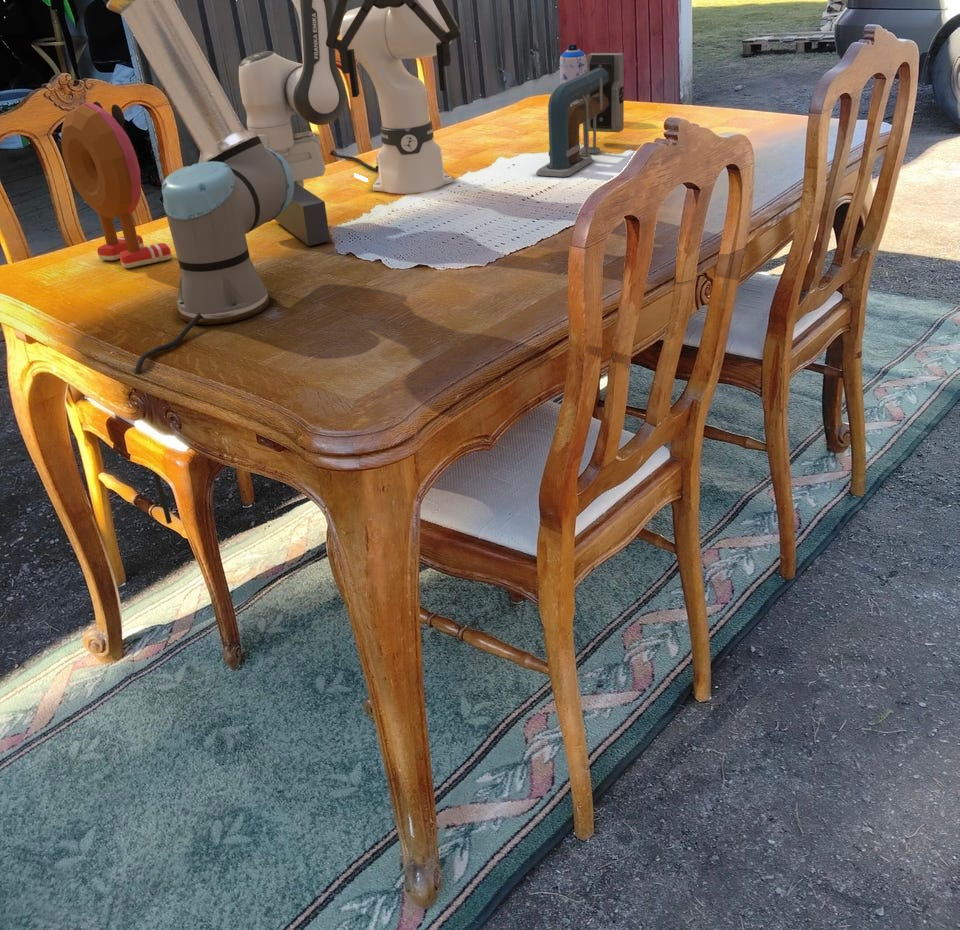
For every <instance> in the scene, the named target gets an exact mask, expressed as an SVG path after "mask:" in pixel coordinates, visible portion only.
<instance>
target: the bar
mask: <svg viewBox="0 0 960 930" xmlns="http://www.w3.org/2000/svg"><path fill="white" fill-rule="evenodd" d="M326 209H327V208H326V201H325V200H323V199H321V198H320V197H318V196H317V195H316V194H314V193H312V192H311V191H309V190H308V189H306V188H305V187H304V186H303V187H302V186H300V185H299V184H297V183H296V182H294V193H293V197H292V200H291V203H290V204H289V206H288V207H287V209H286V210H285V211H284V212H282V213H281V214H280V215H279V216H278V217H277V218H275V219H274V221H275V222H277V223H279V224H280V225H281V226H282V227H284V228H285V229H286V230H287V231H289V232H290V233H291V234H293V235H294V236H295V237H296V238H298V239H299V241H301V242H303V243H304V244H306V245H307V246H308V247H310V246H315V245H320V244H323V243H327V242H331V237H330V232H329V231H330V230H329V225H328V216H327V215H328V214H327V210H326Z"/></svg>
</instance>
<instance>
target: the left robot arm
mask: <svg viewBox="0 0 960 930" xmlns="http://www.w3.org/2000/svg"><path fill="white" fill-rule="evenodd" d="M102 1H103V3H104V4H105V6H106V8H107V9H108V10H109V11H112V12H113V13H117V14H119V15H121V16H122V17H123V19H124V20H125V22H126V24H127V26H128V28H129V30H130V32H131V33H132V34H133V36H134V38H135V40H136V42H137V44H138V45H139V47H140V49H141V50H142V52H143V54H144V56H145V58H146V60H147V61H148V63H149V64H150V66H151V68H152V70H153V72H154V73H155V75H156V77H157V79H158V80H159V82H160V84H161V86H162V87H163V89H164V91H165V93H166V94H167V97H168V98H169V100H170V102H171V103H172V105H173V107H174V108H175V110H176V112H177V114H178V116H179V117H180V119H181V120H182V122H183V124H184V126H185V128H186V130H187V132H188V133H189V135H190V137H191V138H192V140H193V142H194V144H195V145H196V147H197V149H198V151H199V159H198V162H197V163H193V164H191V165H190V166H189V165H187V166H183V167H180V168H178V169H176V170H174V171H173V172H171V173H170V174H168V175H167V176H166V177H165V178H164V180H163V182H162V185H161V193H162V200H163V204H162V205H163V210H164V213H165V214H166V219H167V223H168V226H169V230H170V231H169V232H170V235H171V238H172V242H173V247H174V250H175V254H176V258H177V262H178V266H179V283H178V294H177V303H176V305H177V310H178V314H179V318H180V319H182V320H183V321H184V322H186V323H188V324H187V325H186V326H185V327H184V328H183V329H182V330H181V332H180V333H179V334H178V335H176V336H175V337H174V339H172V340H171V341H169V342H167V343H165V344H162V345H159V346H156V347H153V348H152V349H149V350H148V351H145V352H144V353H142V354H140V356H139V357H138V359H137V362H136V365H135V370H134V374H135V375H139V374H141V373H142V368H143V365H144V362H145V360H146V359H148V358H150V357H152V356H154V355H156V354H158V353H160V352H163V351H166V350H168V349H171V348H173V347H175V346H176V345H177V344H179V343H180V341H181V340H182V339H183V338H184V337H186V335H187V334H188V333H189V332H190V330H192V328H193V327H194V326H195V325H202V326H203V325H204V326H205V325H206V326H210V325H222V324H230V323H233V322H239V321H241V320H245V319H248V318H251V317H253V316H256V315H258V314H260V312H263V311H264V310H265V309H266V308H267V307H268V306H269V305H270V296H269V291H268V288H267V287H266V284H265V283H264V282H263V280H262V278H261V276H260V274H259V272H258V270H257V269H256V267H255V265H254V264H253V262H252V260H251V257H250V251H249V246H248V241H247V236H246V234H249V233H250V232H252V231H254V230H256V229H257V228H259V227H261V226H262V225H265V224H267V223H271V222H272V221H273V220H275V218H277V217H278V216H279V215H280V214H281V213H282V212H284V211H285V210H286V209H287V207H288V206H289V204H290V203H291V200H292V197H293V193H294V179H293V175H292V172H291V169H290V167H289V165H288V163H287V162H286V160H285V159H284V158H283V157H282V156H281V155H280V154H279V153H275V152H274V151H273V150H271V149H268V148H265V147H264V145H263V144H262V142H261V140H260V138H259V136H258V135H257V134H255V133H253V132H250V131H248V129H247V128H245V127H244V126H243V124H242V121H240V118H239V116H238V114H237V113H236V110H234V107H233V106H232V104H231V102H230V100H229V98H228V96H227V94H226V93H225V90H224V89H223V87H222V85H221V83H220V81H219V80H218V77H217V76H216V75H215V73H214V71H213V69H212V67H211V65H210V64H209V62H208V60H207V58H206V56H205V54H204V52H203V51H202V49H201V47H200V45H199V43H198V41H197V40H196V38H195V36H194V34H193V32H192V30H191V29H190V27H189V24H188V23H187V21H186V20H185V18H184V16H183V14H182V12H181V11H180V8H179V7H178V5H177V3H176V1H175V0H102ZM433 2H434V4H435V5H436V7H437V9H438V11H439V13H440V14H441V16H442V18H443V20H444V21H445V23H446V25H447V27H448V29H449V30H450V31H448V32H446V31H445V30H444V29H443V28H442V27H441V26H440V25H439V24H438V23H437V21H436V20H435V19H434V18H433V17H432V16H431V15H430V14H429V13H428V12H427V11H426V9H425V8H424V7H423V6H422V5H421V4H420V3H419V2H418V0H364V1H363V3H362V4H361V6H360V7H361V8H360V10H359V12H358V13H357V15H356V17H355V18H354V20H353V22H352V23H351V25H350V27H349V28H348V30H347V32H346V33H345V35H344V37H343V38H342V40H341V39H339V36H340V28H341V25H342V22H343V19H344V15H345V14H346V12H347V9H348V6H349V3H350V0H338V1H337V4H336V6H335V11H334V12H333V20H332V23H331V26H330V30H329V33H328V36H327V40H326V46H327V47H329V48H334V49H335V50H337V51H338V53H339V61H340V66H341V71H342V74H347V75H349V83H350V90H351V97H352V98H358V96H359V95H360V94H361V93H360V86H359V79H358V71H357V64H356V63H357V62H356V59H355V55H354V49H348V46H349V45H350V43H351V42H352V40H353V38H354V37H355V35H356V33H357V32H358V30H359V28H360V27H361V25H362V23H363V22H364V20H365V18H366V17H367V15H368V14H369V12H370V10H371V9H372V7H373V6H375V7H377V8H379V9H384V8H387V7H393V8H398V7H401V6H403V5H404V4H406V5H407V6H408V7H409V8H410V9H411V10H412V11H413V12H414V13H415V14H416V15H417V16H418V17H419V18H420V19H421V21H422V22H423V23H424V24H425V25H426V26H427V27H428V28H429V29H430V30H431V31H432V32H433V34H434V35H435V36H436V37H437V38H438V39H439V40H440V41H441V42H438V43H437V44H436V49H437V55H436V59H437V70H438V71H437V72H438V81H439V91H440V92H443V91H444V92H445V91H446V89H447V81H446V80H447V79H446V70H445V67H449V66H451V62H452V53H451V44H450V41H451V40H452V41H454V40H455V39H458V38H459V37H460V35H461V33H462V31H461V28H460V26H459V24H458V22H457V21H456V19H455V17H454V15H453V14H452V11H451V10H450V8H449V6H448V5H447V3H446V1H445V0H433ZM452 41H451V42H452ZM152 476H153V479H154V483H155V486H156V490H157V492H158V497H159V500H160V503H161V506H162V507H161V508H162V511H163V514H164V518H165V522H166V524H167V525H169V524H171V523H173V520H172V517H171V512H170V508H169V506H168V502H167V498H166V494H165V490H164V488H163V486H162V481H161V478H160V475H159V474H154V475H152Z"/></svg>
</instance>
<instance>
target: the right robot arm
mask: <svg viewBox="0 0 960 930" xmlns="http://www.w3.org/2000/svg"><path fill="white" fill-rule="evenodd" d="M291 2H292V3H293V5H294V8H295V9H296V12H297V15H298V19H299V25H300V27H299V28H300V39H301V40H300V41H301V42H300V43H301V54H302V56H301V57H302V63H300V62H296V61H294V60H290V59H288V58H285V57H283V56H281V55H278V54H277V53H275V52H274V51H272V50H264V51H260V52H256V53H252V54H250V55H248V56H246V57H244V58H243V59H242V60H241V62H240V63H239V65H238V83H239V90H240V97H241V102H242V105H243V107H244V110H245V113H246V130H247V131H250V132H253V133H255V134H257V135H258V136H259V138H260V140H261V142H262V144H263V145H264V147H265V148H268V149H271V150H273V151H274V152H275V153H279V154H280V155H281V156H282V157H283V158H284V159H285V160H286V162H287V163H288V165H289V167H290V169H291V172H292V175H293V179H294V182H296V183H297V184H299V185H300V186H302V187H303V188H304V187H305V183H304V181H305V180H306V181H307V180H310V179H315V178H319V177H323V176H324V175H325V172H326V165H325V161H324V158H323V153H322V151H321V149H322V143H321V142H322V141H321V138H320V136H319V134H318V133H316V132H313V131H311V130H308V131H304V132H297V133H293V129H292V128H293V127H292V123H291V117H292V116H294V115H299V116H301V117H302V118H303V119H304V120H305V121H307V122H308V123H310V124H313V125H315V126H326V125H328V124H331V123H333V122H335V121H336V120H337V119H338V118H339V117H340V116H341V114H342V113H343V111H344V109H345V105H346V100H347V98H346V96H347V95H346V90H345V87H344V84H343V81H342V79H341V76H340V74H339V71H338V66H337V59H336V58H337V57H336V49H334V48H329V47H327V46H326V40H327V36H328V33H329V30H330V26H331V23H332V20H333V17H334V9H333V7H334V6H333V0H291ZM418 2H419V3H420V4H421V5H422V6H423V7H424V8H425V9H426V11H427V12H428V13H429V14H430V15H431V16H432V17H433V18H434V19H435V20H436V21H437V23H438V24H439V25H440V26H441V27H442V28H443V29H444V30H445V31H446V32H448V31H450V30H449V29H448V27H447V25H446V23H445V21H444V20H443V18H442V16H441V14H440V13H439V11H438V9H437V7H436V5H435V4H434V2H433V0H418ZM360 8H361V6H359V7H356V8H353V9H350V10H347V11H346V12H345V15H344V19H343V22H342V25H341V28H340V32H339V36H340V40H342V38H343V37H344V35H345V33H346V32H347V30H348V28H349V27H350V25H351V23H352V22H353V20H354V18H355V17H356V15H357V13H358V12H359V10H360ZM452 41H453V40H451V41H450V45H451V43H452ZM438 42H441V41H440V40H439V39H438V38H437V37H436V36H435V35H434V34H433V32H432V31H431V30H430V29H429V28H428V27H427V26H426V25H425V24H424V23H423V22H422V21H421V19H420V18H419V17H418V16H417V15H416V14H415V13H414V12H413V11H412V10H411V9H410V8H409V7H408V6H407V5H406V4H404V5H403V6H401V7H398V8H393V7H387V8H384V9H379V8H377V7H375V6H373V7H372V9H371V10H370V12H369V14H368V15H367V17H366V18H365V20H364V22H363V23H362V25H361V27H360V28H359V30H358V32H357V33H356V35H355V37H354V38H353V40H352V42H351V43H350V45H349V46H348V49H354V55H355V61H357V62H358V63H359V64H360V65H361V66H362V67H363V68H364V70H365V72H366V73H367V74H368V76H369V77H370V80H371V82H372V84H373V87H374V89H375V92H376V96H377V102H378V107H379V113H380V121H381V126H380V128H379V129H380V137H381V143H382V146H381V148H380V150H379V151H378V152H377V153H376V154H377V156H376V166H375V167H374V166H372V165H370V164H368V163H366V162H364V161H363V160H361V159H360V158H358V157H355V156H349V155H342V154H338V153H337V152H336V150H335V149H331V151H330V152H329V154H330V156H332V155H334V156H335V157H336V158H340V159H344V160H351V161H356V162H358V163H360V164H361V166H364V167H365V168H366V169H369V170H371V171H373V172H376V173H377V174H378V176H377V178H376V180H375V182H374V183H373V184H372V191H374V192H384V193H389V194H397V195H398V194H399V195H400V194H401V195H405V194H407V195H408V194H417V193H418V194H419V193H424V192H429V191H432V190H435V189H436V190H437V189H438V188H440V187H442V186H444V185H449V184H451V183H454V181H453V177H452V176H451V175H450V174H448V173H446V172H445V170H444V159H443V152H442V147H441V146H440V145H439V144H438V143H437V142H435V140H434V137H435V136H434V127H433V121H432V120H431V116H430V106H429V96H428V95H429V93H428V90H427V86H426V85H425V83H424V82H423V81H422V80H421V79H420V78H419V77H417V76H415V75H413V74H411V73H410V72H409V71H408V70H407V69H406V66H405V65H404V63H403V60H405V59H406V60H407V59H408V60H409V59H428V58H432V57H437V49H436V44H437V43H438ZM353 175H354V178H356V179H358V180H361V181H363V182H366V183H367V182H369V180H368V178H367V177H364V176H362V175H361V174H360V175H359V174H357V173H354V174H353Z"/></svg>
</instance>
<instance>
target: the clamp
mask: <svg viewBox="0 0 960 930" xmlns="http://www.w3.org/2000/svg"><path fill="white" fill-rule="evenodd" d="M624 56H625V55H624V53H623V52H603V53H602V52H600V53H599V52H591V53H589V54H587V55H586V58H587V73H585V74H583V75H581V76H579V77H577V78H574V79H572V80H570V81H568V82H566V83H564V84H561V85H560V84H559V85H558V86H557V87H556V88H555V89H554V91H553V92H552V93H551V94H550V96H549V99H548V105H547V107H548V108H547V117H548V118H547V119H548V144H549V145H548V147H549V149H548V156H549V162H548V163H546V164H545V165H542V166H541V167H539V168H538V169H537V171H536V173H535V174H536V175H537V176H544V177H559V178H560V177H561V178H565V177H570V176H572V175H573V174H575V173H576V172H578V171H579V170H581V169H583V168H584V167H586V166H588V165H589V164H591V163H592V162H593V161H594V159H593V157H592V155H591V154H594V155H595V154H598V153H600V152H601V148H600V147H598V146H597V132H598V133H621V132H622V131H623V130H624V129H625V127H624V125H625V124H624V122H625V120H624V119H625V117H624V116H625V115H624V109H625V106H624V103H625V101H624V99H625V97H624V90H625V89H624V87H625V86H624V85H625V83H624V82H625V81H624V80H625V79H624V75H625V74H624V73H625V72H624V71H625V70H624V69H625V67H624V66H625V65H624V64H625V62H624V61H625V57H624ZM581 99H582V100H583V101H581V102H579V103H577V104H575V105H573V106H571V107H570V103H572V102H574V101H576V100H581ZM581 124H582V133H583V134H582V135H583V137H582V139H583V146H582V147H581V143H580V127H581ZM590 132H593V134H592V146H590Z"/></svg>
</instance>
